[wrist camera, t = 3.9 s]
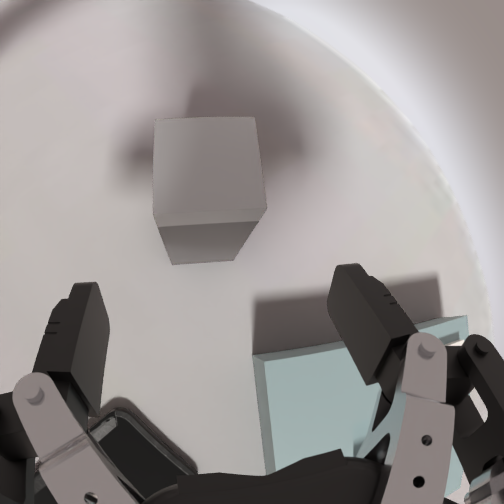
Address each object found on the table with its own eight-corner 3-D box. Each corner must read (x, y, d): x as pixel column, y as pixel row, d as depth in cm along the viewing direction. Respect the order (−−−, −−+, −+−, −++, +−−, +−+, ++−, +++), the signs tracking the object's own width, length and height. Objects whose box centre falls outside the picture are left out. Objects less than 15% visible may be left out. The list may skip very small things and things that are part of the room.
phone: (10, 493, 13) (119, 403, 17) (15, 488, 14) (123, 399, 18) (82, 557, 12) (207, 483, 16) (85, 551, 13) (206, 476, 18)
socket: (274, 537, 17) (288, 566, 13) (252, 355, 20) (266, 363, 16) (436, 476, 20) (464, 489, 16) (438, 317, 23) (472, 314, 19)
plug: (172, 264, 20) (152, 214, 10) (169, 206, 21) (155, 119, 11) (233, 260, 21) (267, 208, 11) (227, 203, 22) (254, 116, 12)
